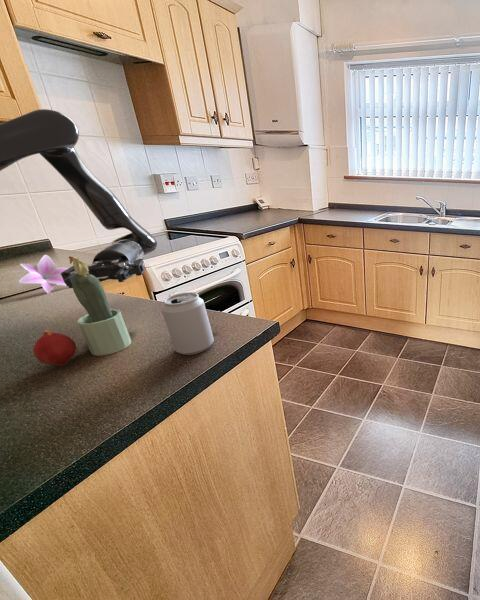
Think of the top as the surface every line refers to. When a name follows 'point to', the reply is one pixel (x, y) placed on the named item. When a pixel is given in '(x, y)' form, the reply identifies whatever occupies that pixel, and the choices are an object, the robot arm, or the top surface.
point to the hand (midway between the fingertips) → (95, 280)
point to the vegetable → (90, 292)
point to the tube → (105, 334)
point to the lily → (44, 274)
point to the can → (187, 323)
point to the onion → (54, 348)
